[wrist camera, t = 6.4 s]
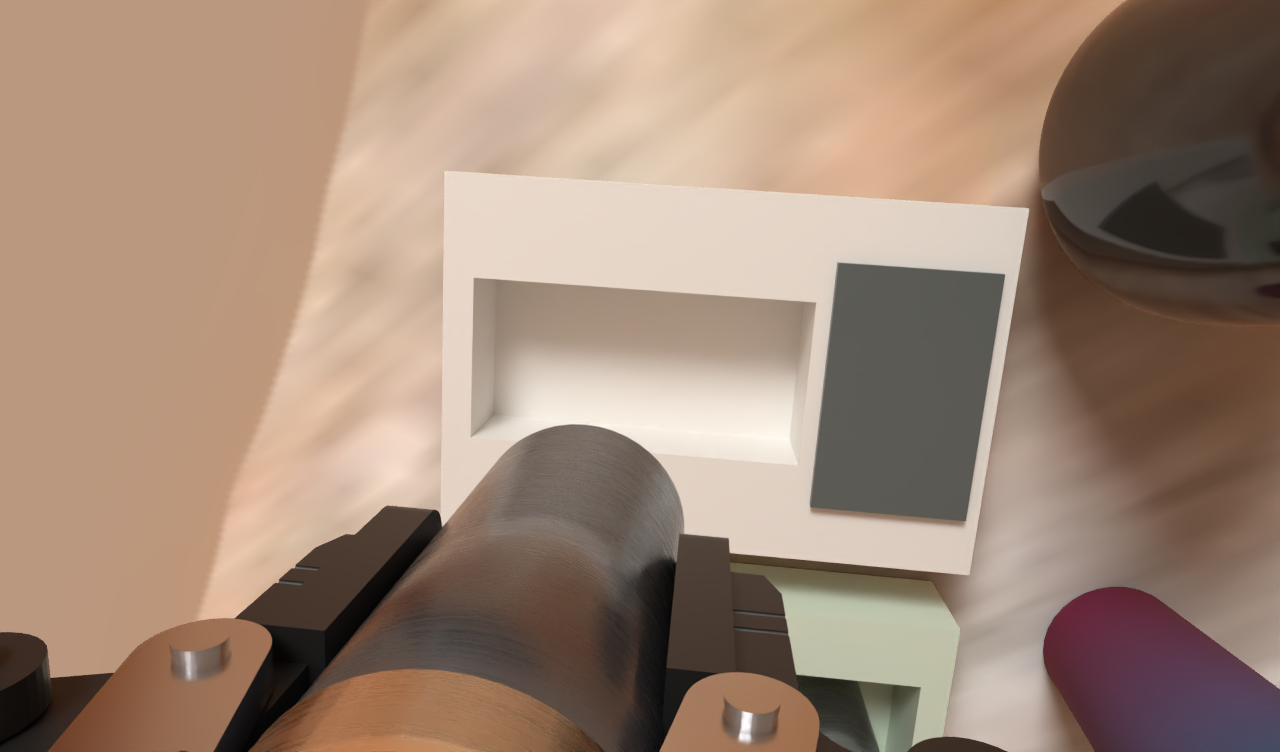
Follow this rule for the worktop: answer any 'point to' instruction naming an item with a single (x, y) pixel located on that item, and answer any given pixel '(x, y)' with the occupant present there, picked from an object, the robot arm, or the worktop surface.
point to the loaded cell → (840, 711)
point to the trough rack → (873, 644)
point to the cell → (517, 617)
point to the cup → (1155, 679)
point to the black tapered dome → (1172, 159)
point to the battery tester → (739, 352)
